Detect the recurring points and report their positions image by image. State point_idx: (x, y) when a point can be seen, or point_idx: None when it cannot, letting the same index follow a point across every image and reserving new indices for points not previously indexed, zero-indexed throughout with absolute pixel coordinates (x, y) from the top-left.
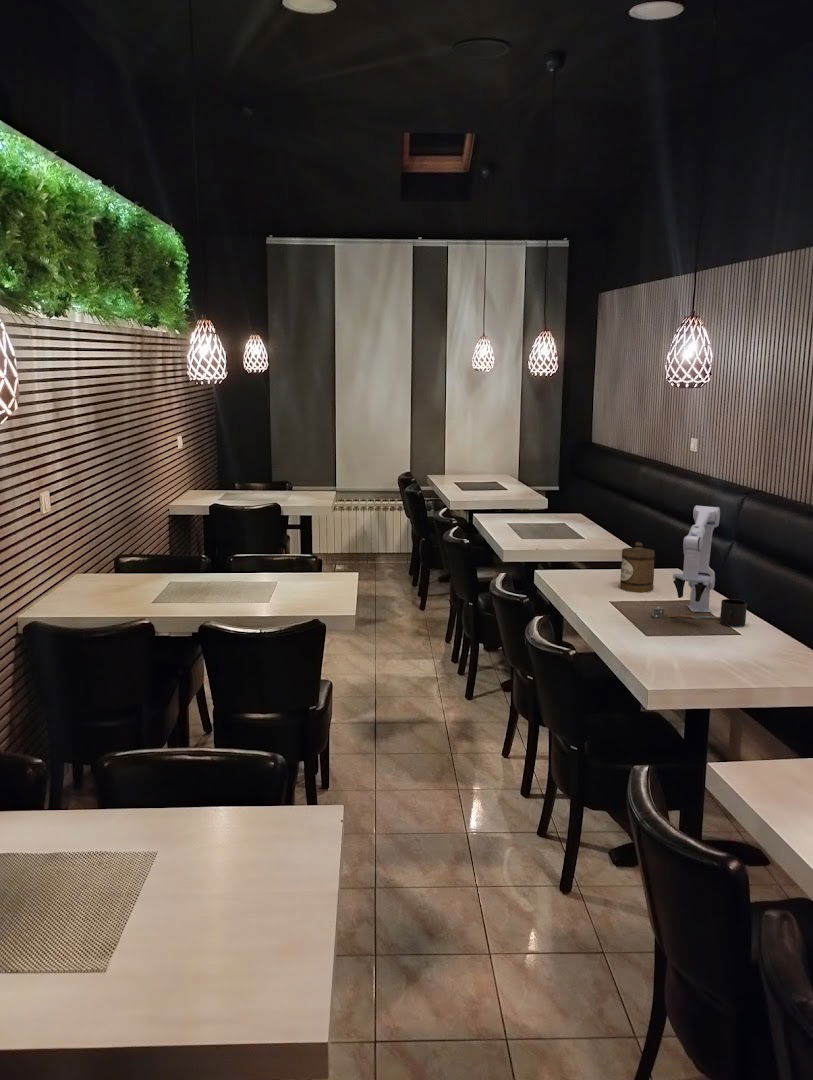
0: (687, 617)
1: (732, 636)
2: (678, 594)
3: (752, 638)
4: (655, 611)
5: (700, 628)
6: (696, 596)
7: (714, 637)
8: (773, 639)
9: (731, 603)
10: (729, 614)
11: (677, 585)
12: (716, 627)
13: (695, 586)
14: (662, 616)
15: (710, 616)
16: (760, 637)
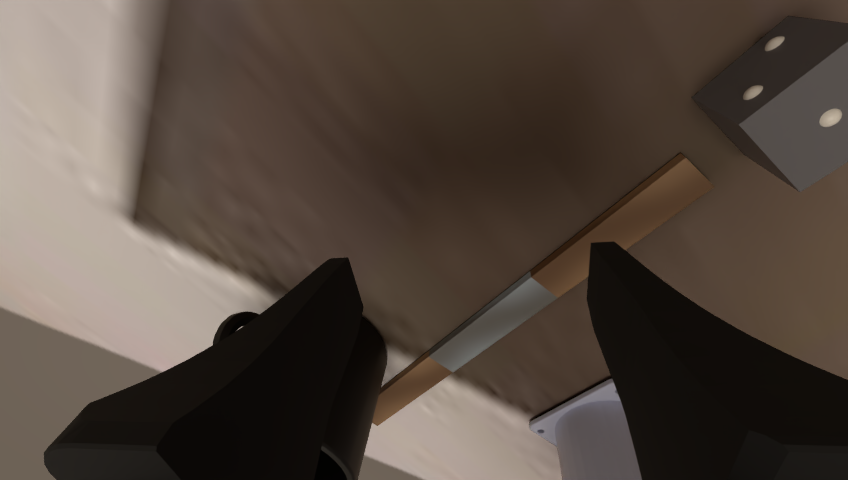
0: (550, 259)
1: (94, 147)
2: (624, 262)
3: (47, 210)
4: (822, 38)
5: (319, 123)
6: (298, 293)
7: (78, 3)
8: (28, 276)
9: (343, 473)
10: (218, 335)
11: (721, 367)
12: (299, 232)
13: (172, 410)
14: (712, 94)
15: (465, 361)
16: (65, 258)
